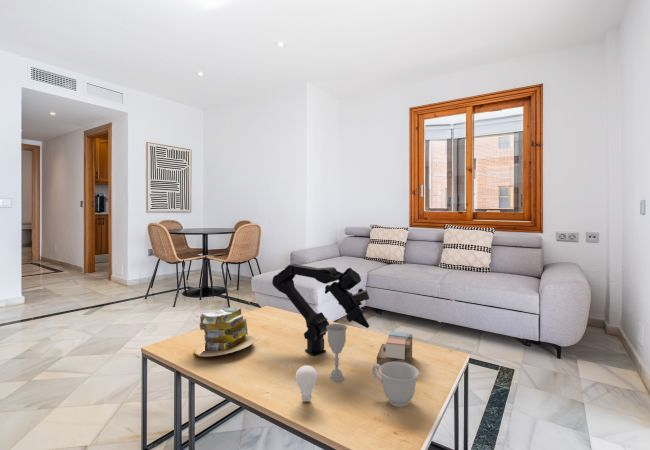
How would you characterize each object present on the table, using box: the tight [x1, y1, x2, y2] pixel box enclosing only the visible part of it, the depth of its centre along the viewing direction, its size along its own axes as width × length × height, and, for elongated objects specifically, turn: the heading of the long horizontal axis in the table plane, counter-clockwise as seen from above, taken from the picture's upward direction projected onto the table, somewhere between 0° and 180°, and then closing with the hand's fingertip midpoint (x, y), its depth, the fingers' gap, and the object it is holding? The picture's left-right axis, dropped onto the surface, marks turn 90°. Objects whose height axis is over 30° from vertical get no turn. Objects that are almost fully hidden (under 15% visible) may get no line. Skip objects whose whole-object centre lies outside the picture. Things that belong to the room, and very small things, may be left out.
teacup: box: [371, 362, 420, 408], centre depth 105 cm, size 12×15×10 cm
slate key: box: [387, 330, 409, 344], centre depth 135 cm, size 7×4×6 cm, turn 72°
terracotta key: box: [385, 338, 406, 359], centre depth 127 cm, size 7×4×6 cm, turn 72°
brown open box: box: [376, 333, 413, 366], centre depth 131 cm, size 12×13×10 cm
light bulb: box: [295, 364, 318, 403], centre depth 104 cm, size 7×7×11 cm
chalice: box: [326, 323, 348, 382], centre depth 119 cm, size 7×7×18 cm
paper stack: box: [197, 307, 256, 358], centre depth 144 cm, size 25×25×17 cm
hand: (368, 327), depth 132 cm, fingers closed
